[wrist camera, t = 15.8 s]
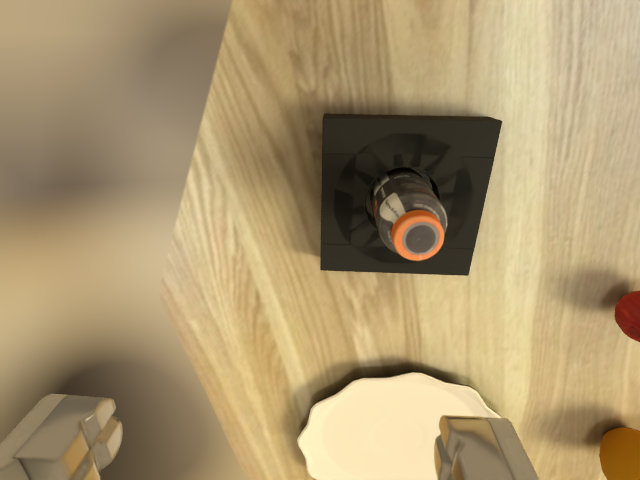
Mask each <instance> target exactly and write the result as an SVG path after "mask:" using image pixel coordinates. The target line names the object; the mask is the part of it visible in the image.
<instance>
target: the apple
mask: <svg viewBox="0 0 640 480" xmlns="http://www.w3.org/2000/svg"><path fill="white" fill-rule="evenodd" d="M599 456H600V461H601V467H602V471H603V473H604V474H605V476H606V478H607V480H640V431H638V430H635V429H632V428H626V427H621V428H615V429H612V430H609V431H608V432H606V433H605V434H604V435H603V438H602V440H601V445H600V454H599Z"/></svg>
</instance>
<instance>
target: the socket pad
mask: <svg viewBox="0 0 640 480" xmlns="http://www.w3.org/2000/svg"><path fill="white" fill-rule="evenodd" d="M501 125H502V121H500V120H497V119H494V118H491V117H460V116H408V115H357V114H324V117H323V145H322V153H323V154H322V208H321V270H328V271H355V272H383V273H411V274H439V275H466V276H468V274H469V270H470V265H471V261H472V256H473V252H474V248H475V243H476V239H477V234H478V230H479V225H480V220H481V216H482V211H483V207H484V202H485V198H486V193H487V189H488V184H489V180H490V175H491V170H492V166H493V161H494V156H495V152H496V147H497V143H498V138H499V134H500V129H501ZM398 167H406V168H415V169H418V170H420V171H422V172H424V173H426V174H428V175H429V177H430V180H431V184H432V187H433V193H434V194H435V195H436V197H437V198H438V200H439V201H440V202H441V204H442V205H443V207H444V209H445V211H446V215H447V228H446V232H445V234H444V241H443V244H442V246H441V248H440V249H439V251H438V252H437V253H436V254H434V255H433V256H432V257H430V258H427V259H424V260H420V261H415V260H409V259H406V258H404V257H402V256H401V255H400V254H398V253H396V252H394V251H392V250H390V249H389V248H388V247H387V246H386V245H385V244H384V243H383V241H382V240H381V238H380V236H379V232H378V228H377V224H376V220H375V219H374V218H373V217H372V215H371V214H370V213H369V212H368V211H367V208H366V205H365V204H366V195H367V193H368V191H369V189H370V187H371V185H372V183H373V182H374V181H375V180H376V179H377V178H379V177H380V176H381V175H382V174H383V173H385V172H387V171H390V170H393V169H396V168H398Z"/></svg>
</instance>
